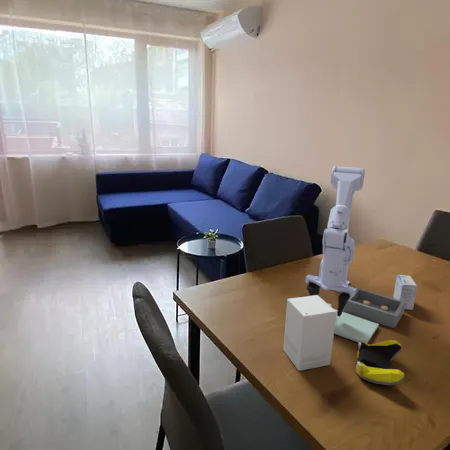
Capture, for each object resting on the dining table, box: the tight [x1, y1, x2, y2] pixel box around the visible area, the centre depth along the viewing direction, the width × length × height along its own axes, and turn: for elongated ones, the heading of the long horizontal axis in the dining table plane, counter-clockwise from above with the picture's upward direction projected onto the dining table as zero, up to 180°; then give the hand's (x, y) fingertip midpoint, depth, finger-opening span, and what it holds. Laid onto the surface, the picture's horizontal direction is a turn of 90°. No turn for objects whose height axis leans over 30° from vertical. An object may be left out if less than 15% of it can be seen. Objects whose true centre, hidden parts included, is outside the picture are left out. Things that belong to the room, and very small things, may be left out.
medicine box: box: [392, 274, 418, 311], centre depth 120 cm, size 8×4×9 cm, turn 168°
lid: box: [327, 303, 380, 344], centre depth 106 cm, size 16×12×5 cm
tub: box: [343, 287, 405, 329], centre depth 114 cm, size 15×11×4 cm
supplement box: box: [283, 295, 337, 372], centre depth 91 cm, size 9×9×15 cm
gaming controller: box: [355, 339, 405, 386], centre depth 88 cm, size 15×6×10 cm
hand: (326, 310), depth 109 cm, fingers open, 7 cm apart
